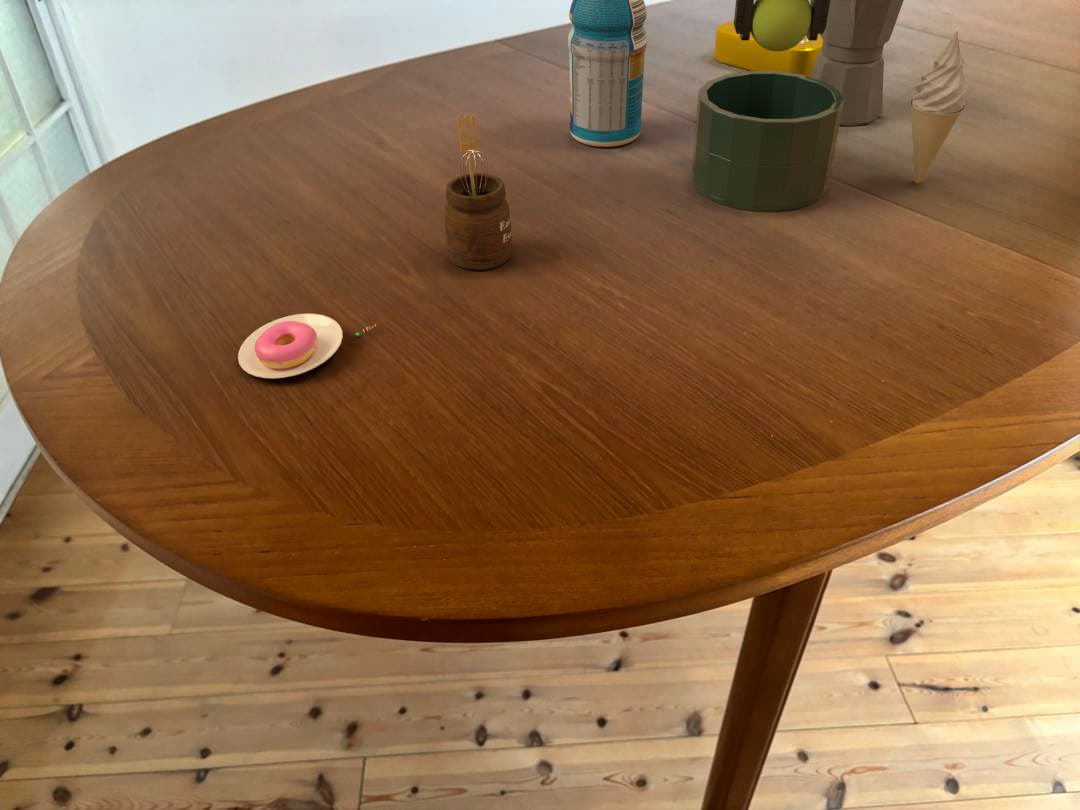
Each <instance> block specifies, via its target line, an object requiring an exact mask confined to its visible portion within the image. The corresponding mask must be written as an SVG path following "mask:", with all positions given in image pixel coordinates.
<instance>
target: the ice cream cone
mask: <svg viewBox="0 0 1080 810" xmlns="http://www.w3.org/2000/svg"><path fill="white" fill-rule="evenodd" d="M960 47H961V46H960V42H959V31H958V30H956V31H955V33H954V34H953V36H952V37H951V39H950V40H949V41H948V43H947V44H946V45H945V47H944V48H943V50H942V51H941V52H940V54H938V56H937V57H936V58H935V60H934V61H933V68H932V69H931V70H930V71H928V72H926V73H923V74H922V75H921V76H920V78H921V82H918V83H916V84H915V87H914V88H915V90H916V91H917V94H915V95H914V96H912V98H911V99H910V100H909V105H910V109H911V110H910V111H911V112H910V113H911V114H910V115H911V132H912V133H911V134H912V136H911V137H912V151H913V153H912V154H913V169H914V171H913V172H914V183H915V184H921V182H922V181H923V179H924V177H925V175H926V174H927V172H928V170H929V169H930V167H931V165H932V163H933V162H934V160H935V158H936V157H937V155H938V153H939V152H940V149H941V148H942V146H943V144H944V143H945V141H946V139H947V138H948V136H949V134H950V133H951V131H952V130H953V127H954V126H955V124H956V121H957V120H958V118H959V117H960V116H961V113H962V112H964V111H965V109H966V106H965V104H966V103H967V102H968V98H969V96H970V91H971V86H970V82H969V81H968V79H967V77H966V75H965V73H964V70H963V68H964V65H965V60H964V58H963V56H962V53H961V48H960Z"/></svg>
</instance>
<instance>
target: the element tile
mask: <svg viewBox="0 0 1080 810" xmlns="http://www.w3.org/2000/svg"><path fill="white" fill-rule="evenodd" d="M715 30H716V32H715V42H714V43H715V44H714V53H713V57H714V59H715V61H717V62H719V63H721V64H725V65H728V66H732V67H735V68H738V69H743V70H745V71H778V72H785V73H793V74H800V75H804V76H807V77H811V74H812V71H813V68H814V65H815V62H816V59H817V56H818V55H819V54H820V53H821V50H822V44H823V39H822V38H821V36H820V34H818V37H817V40H816V41H809V40H808V38H807V36H805V37H804V38H803V40H802V41H801V42H800V43H799V44H797V45H796V46H794V47H793V48H791V49H788V50H785V51H778V52H776V51H770V50H767V49H765V48H763V47H761V46H760V45H759V44H758V43H757V42H756V41H755V40H754V38H753V36H752V34H751V31H750V39H749V40H741V38H740V34H736V30H735V27H734V19H732V20H729V21H727V22H723V23H721V24H718V25H717V26H716V29H715Z"/></svg>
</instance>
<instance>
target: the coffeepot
mask: <svg viewBox="0 0 1080 810" xmlns="http://www.w3.org/2000/svg"><path fill="white" fill-rule="evenodd" d="M904 1H905V0H830V6H829V12H828V18H827V24H826V29H825V31H824V32H823V34H820V36H821V38H822V39H823V44H822V50H821V53H820V54H819V55H818V56H817V59H816V62H815V65H814V68H813V71H812V74H811V78H814V79H818V80H821V81H824V82H826V83H827V84H829V85H831V86H832V87H834V88H836V89H837V90H839V92H840V94H841V96H842V98H843V100H844V103H843V109H842V114H841V120H840V125H839V127H858V126H863V125H867V124H871V123H873V122H875V121H876V120H878V118H879V116H881V115H883V102H884V101H883V99H884V97H883V96H884V95H883V94H884V71H885V70H884V69H885V61H884V58H883V52H884V47H885V44H887V43H888V42H889V41H890V40H891V37H892V34H893V32H894V29H895V25H896V23H897V20H898V18H899V16H900V15H899V14H900V12H901V9H902V6H903V3H904Z"/></svg>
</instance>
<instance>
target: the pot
mask: <svg viewBox="0 0 1080 810" xmlns="http://www.w3.org/2000/svg"><path fill="white" fill-rule="evenodd" d="M843 103H844V100H843V98H842V96H841V94H840V92H839V90H837V89H836V88H834V87H832V86H831V85H829V84H827V83H826V82H824V81H821V80H818V79H814V78H811V77H807V76H804V75H800V74H793V73H785V72H778V71H749V70H747V71H741V72H735V73H727V74H724V75H721V76H718V77H715V78H713V79H710V80H708V81H706V82H705V83H704V84H703V85H702V86H701V87H700V88H699V89H698V93H697V105H696V116H695V117H696V118H695V130H694V141H693V152H692V153H693V154H692V164H691V165H692V167H691V173H692V175H691V176H692V178H691V182H692V184H693V187H694V188H695V189H696V190H697V191H698V193H699V194H701V195H702V196H703V197H705V198H707V199H708V200H710V201H713V202H715V203H717V204H720V205H722V206H726V207H729V208H733V209H737V210H744V211H750V212H767V213H768V212H785V211H792V210H796V209H801V208H804V207H807V206H810V205H812V204H814V203H815V202H817V201H819V200H820V199H821V198H822V197H824V195H825V194H826V191H827V188H828V185H829V184H830V178H831V173H832V168H833V162H834V157H835V151H836V146H837V142H838V141H837V140H838V135H839V130H840V126H839V125H840V120H841V114H842V109H843Z"/></svg>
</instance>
